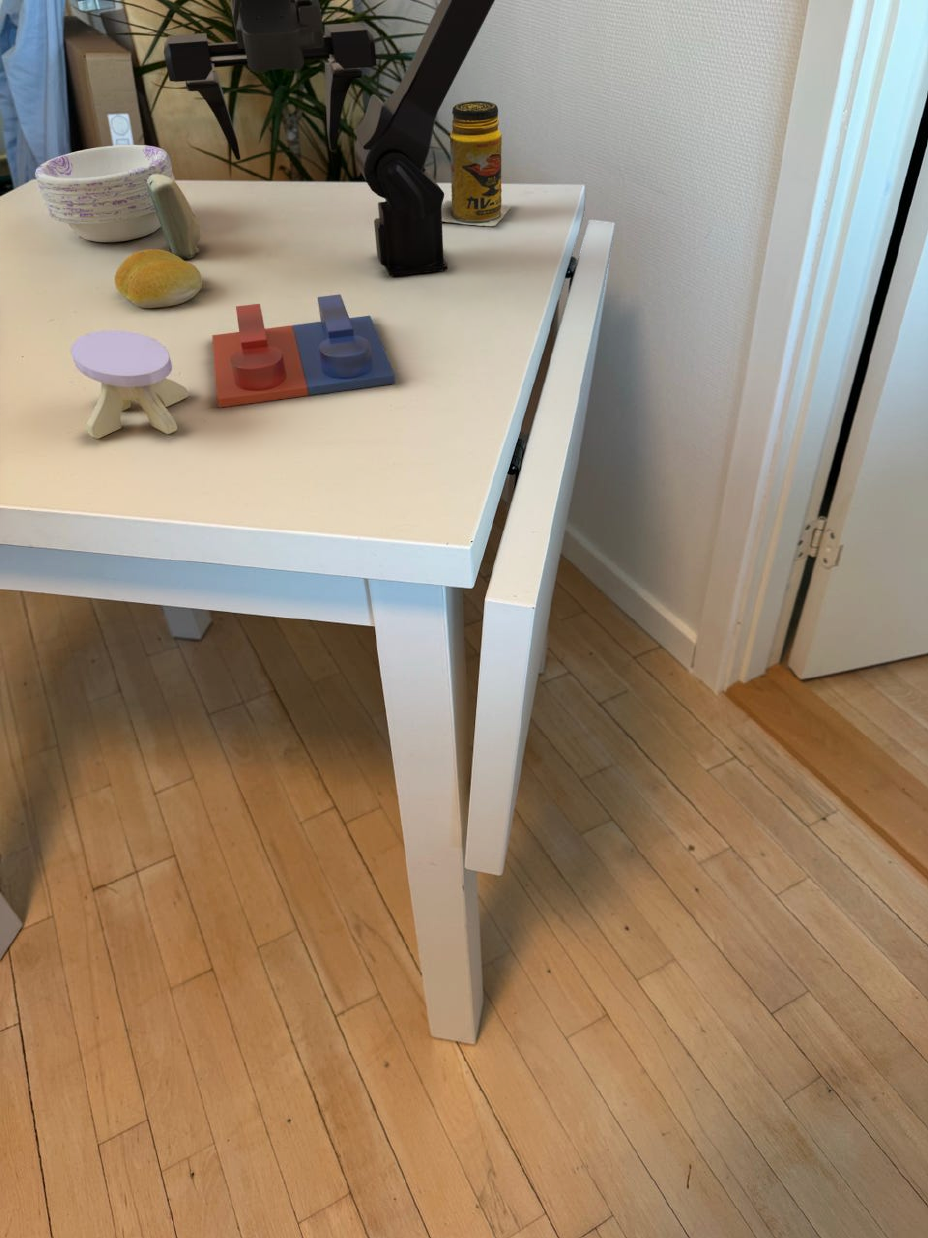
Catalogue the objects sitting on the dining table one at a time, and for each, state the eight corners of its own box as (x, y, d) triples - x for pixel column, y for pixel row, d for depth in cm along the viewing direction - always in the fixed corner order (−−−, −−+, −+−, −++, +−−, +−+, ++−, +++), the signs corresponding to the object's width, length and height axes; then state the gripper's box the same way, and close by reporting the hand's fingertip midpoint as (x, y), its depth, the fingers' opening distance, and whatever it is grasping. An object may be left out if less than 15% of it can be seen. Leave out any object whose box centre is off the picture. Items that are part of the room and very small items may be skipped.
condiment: (495, 227, 104) (495, 113, 96) (428, 221, 106) (422, 110, 98) (511, 208, 109) (512, 98, 101) (447, 203, 111) (443, 95, 103)
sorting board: (370, 323, 85) (370, 315, 84) (395, 383, 75) (394, 374, 75) (213, 342, 82) (212, 334, 82) (218, 407, 73) (216, 399, 72)
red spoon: (229, 334, 82) (223, 307, 80) (276, 328, 82) (271, 301, 81) (236, 393, 73) (229, 364, 71) (288, 386, 74) (283, 357, 72)
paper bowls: (52, 221, 110) (29, 152, 105) (174, 203, 114) (158, 136, 109) (61, 261, 99) (36, 186, 94) (195, 239, 104) (178, 166, 98)
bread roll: (146, 317, 87) (135, 277, 84) (109, 292, 92) (97, 253, 90) (220, 294, 91) (211, 255, 88) (180, 271, 96) (171, 233, 93)
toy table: (66, 411, 73) (42, 346, 69) (167, 378, 77) (150, 315, 73) (109, 459, 67) (86, 390, 63) (216, 420, 71) (200, 354, 67)
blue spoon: (309, 325, 83) (305, 297, 81) (355, 319, 84) (352, 292, 82) (325, 381, 74) (321, 352, 72) (376, 374, 75) (373, 346, 73)
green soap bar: (145, 255, 100) (125, 180, 95) (179, 241, 103) (161, 167, 98) (181, 263, 98) (163, 187, 92) (214, 248, 101) (198, 174, 96)
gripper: (142, -28, 68) (189, 187, 79) (378, -41, 71) (393, 167, 82) (146, -42, 76) (188, 155, 87) (358, -53, 79) (374, 138, 90)
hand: (285, 154), depth 86 cm, fingers open, 9 cm apart
